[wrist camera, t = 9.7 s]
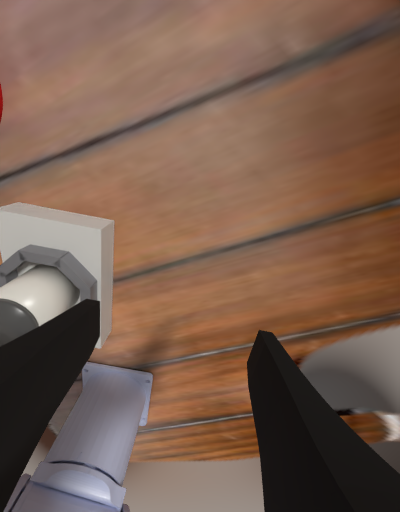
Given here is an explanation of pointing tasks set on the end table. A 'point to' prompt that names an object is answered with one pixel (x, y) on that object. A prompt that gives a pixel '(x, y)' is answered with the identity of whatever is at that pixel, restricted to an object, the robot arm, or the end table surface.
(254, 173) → the end table surface
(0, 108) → the decorative ornament
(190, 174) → the end table surface
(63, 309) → the lens
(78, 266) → the plate with octagonal ring
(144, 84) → the end table surface
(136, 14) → the end table surface
